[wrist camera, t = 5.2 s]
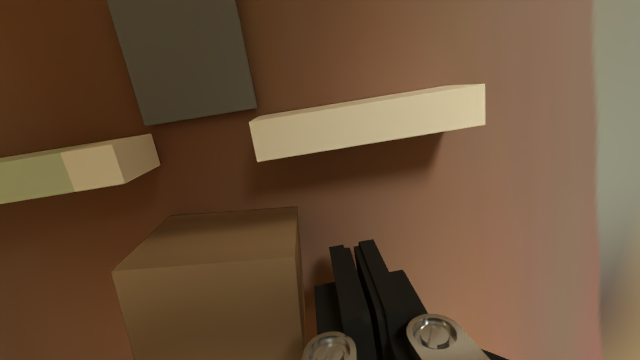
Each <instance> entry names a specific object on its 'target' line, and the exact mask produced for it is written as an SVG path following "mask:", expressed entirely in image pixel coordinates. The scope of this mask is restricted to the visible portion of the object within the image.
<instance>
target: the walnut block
mask: <svg viewBox="0 0 640 360" xmlns="http://www.w3.org/2000/svg"><path fill="white" fill-rule="evenodd" d="M111 274H112V278H113V282H114V285H115V289H116V293H117V296H118V300H119V304H120V308H121V311H122V315H123V319H124V323H125V326H126V330H127V334H128V338H129V341H130V345H131V349H132V353H133V356H134V360H302V355H303V351H304V349H305V346H306V311H305V299H304V286H303V274H302V262H301V250H300V238H299V226H298V213H297V207H284V208H271V209H257V210H243V211H230V212H216V213H202V214H189V215H175V216H169V217H168V218H167V219H166V220H165V221H164V222H163V223H162V224H161V225H160V226H159V227H157V228H156V229H155V230H154V231H153V232H152V233H151V234H150V235H149V236H148V237H147V238H146V239H145V240H144V241H143V242H142V243H140V244H139V245H138V246H137V247H136V248H135V249H134V250H133V251H132V252H131V253H130V254H129V255H128V256H127V257H126V258H125V259H123V260H122V261H121V262H120V263H119V264H118V265H117V266H116V267H115V268H114V269H113V270H112V271H111Z"/></svg>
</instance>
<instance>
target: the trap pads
mask: <svg viewBox="0 0 640 360" xmlns="http://www.w3.org/2000/svg"><path fill="white" fill-rule="evenodd" d="M107 4H108V7H109V11H110V14H111V17H112V20H113V24H114V27H115V30H116V34H117V37H118V40H119V43H120V47H121V50H122V53H123V56H124V60H125V63H126V66H127V70H128V73H129V76H130V79H131V83H132V86H133V89H134V93H135V96H136V99H137V102H138V106H139V109H140V112H141V115H142V119H143V122H144V125H145V126H149V125H155V124H161V123H167V122H173V121H180V120H186V119H192V118H198V117H204V116H210V115H217V114H223V113H229V112H235V111H241V110H248V109H254V108H258V106H257V101H256V96H255V91H254V86H253V81H252V76H251V71H250V66H249V61H248V57H247V52H246V47H245V42H244V37H243V32H242V27H241V22H240V17H239V13H238V8H237V3H236V0H110V1H107Z"/></svg>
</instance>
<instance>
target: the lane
mask: <svg viewBox="0 0 640 360" xmlns="http://www.w3.org/2000/svg"><path fill="white" fill-rule="evenodd" d="M480 125H485V84H469V85H447V86H441V87H435V88H429V89H422V90H416V91H410V92H404V93H398V94H392V95H385V96H379V97H373V98H367V99H361V100H355V101H348V102H342V103H336V104H330V105H324V106H318V107H311V108H305V109H299V110H293V111H287V112H280V113H274V114H268V115H262V116H259V117H257V118H255V119H253V120H252V121H250V122H249V126H250V131H251V135H252V140H253V145H254V149H255V154H256V159H257V162H260V161H267V160H273V159H279V158H285V157H291V156H297V155H303V154H309V153H315V152H321V151H328V150H334V149H340V148H346V147H352V146H358V145H364V144H370V143H376V142H382V141H389V140H395V139H401V138H407V137H413V136H419V135H425V134H431V133H437V132H443V131H450V130H456V129H462V128H468V127H474V126H480ZM160 165H161V164H160V161H159V158H158V154H157V151H156V148H155V144H154V141H153V138H152V135H151V134H145V135H139V136H132V137H126V138H120V139H114V140H108V141H102V142H95V143H89V144H83V145H77V146H71V147H65V148H58V149H52V150H46V151H40V152H34V153H28V154H21V155H15V156H9V157H3V158H0V204H4V203H10V202H16V201H22V200H29V199H35V198H41V197H47V196H53V195H59V194H65V193H71V192H77V191H83V190H90V189H96V188H102V187H108V186H114V185H120V184H125V183H127V182H129V181H131V180H133V179H135V178H137V177H139V176H141V175H143V174H145V173H147V172H148V171H150V170H152V169H154V168H156V167H158V166H160Z"/></svg>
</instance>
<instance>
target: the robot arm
mask: <svg viewBox="0 0 640 360" xmlns="http://www.w3.org/2000/svg"><path fill="white" fill-rule="evenodd" d="M329 249H330V255H331V261H332V266H333V272H334V278H335V282H332V283H327V284H321V285H315V286H314V288H315V304H316V319H317V336H315V337H314V338H313V339H311V340H310V341H309V342H308V344H307V345H306V346H305V349H304V351H303V355H302V360H508V359H505V358H503V357H500V356H498V355H495V354H493V353H490V352H488V351H485V350H483V349H480V348H479V347H478V345H477V344H476V343H475V342H474V341H473V340H472V339H471V338H470V337H469V336H468V335H467V334H466V332H465V331H464V330H463V329H462V328H461V327H460V326H459V325H458V324H457V323H456V322H454V321H453V320H452V319H450V318H448V317H446V316H442V315H438V314H428V313H427V311H426V309H425V307H424V306H423V304H422V302H421V300H420V299H419V297H418V295H417V293H416V292H415V290H414V288H413V286H412V285H411V283H410V281H409V279H408V278H407V276H406V274H405V272H404V271H403V270H398V271H393V272H389V271H388V269H387V267H386V265H385V263H384V261H383V259H382V257H381V255H380V252H379V250H378V248H377V246H376V244H375V242H374V240H373V239H372V240H367V241H361V242H359V246H355V247H354V253H355V259H356V266H357V270H356V267H355V264H354V260H353V257H352V254H351V251H350V248H344V246H343V245H339V246H333V247H329ZM357 272H358V273H357Z"/></svg>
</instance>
